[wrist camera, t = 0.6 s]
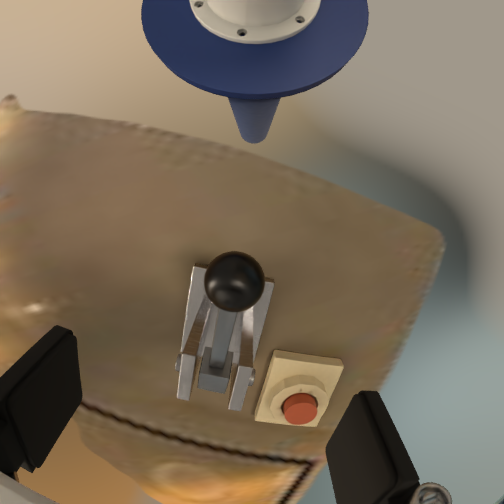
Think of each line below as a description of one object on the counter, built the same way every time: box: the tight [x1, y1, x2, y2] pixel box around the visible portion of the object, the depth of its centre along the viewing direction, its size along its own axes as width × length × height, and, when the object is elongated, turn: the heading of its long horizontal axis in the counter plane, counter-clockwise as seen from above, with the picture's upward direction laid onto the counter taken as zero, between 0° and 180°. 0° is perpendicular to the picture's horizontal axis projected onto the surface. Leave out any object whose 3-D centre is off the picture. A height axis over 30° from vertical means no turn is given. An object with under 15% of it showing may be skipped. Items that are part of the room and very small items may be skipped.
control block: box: [255, 350, 344, 427], centre depth 33 cm, size 10×8×4 cm
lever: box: [198, 251, 265, 394], centre depth 19 cm, size 13×3×3 cm, turn 167°
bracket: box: [175, 263, 274, 411], centre depth 27 cm, size 10×8×12 cm
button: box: [283, 393, 317, 425], centre depth 31 cm, size 4×4×2 cm
